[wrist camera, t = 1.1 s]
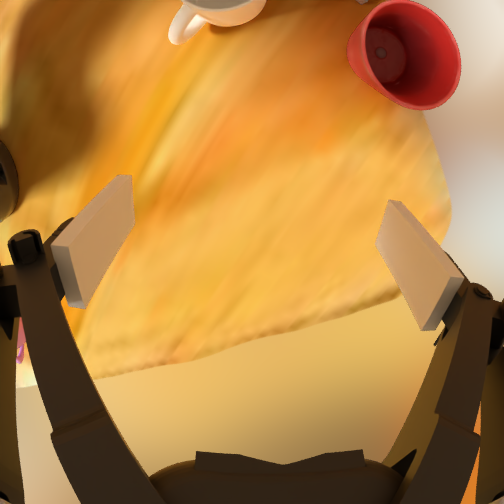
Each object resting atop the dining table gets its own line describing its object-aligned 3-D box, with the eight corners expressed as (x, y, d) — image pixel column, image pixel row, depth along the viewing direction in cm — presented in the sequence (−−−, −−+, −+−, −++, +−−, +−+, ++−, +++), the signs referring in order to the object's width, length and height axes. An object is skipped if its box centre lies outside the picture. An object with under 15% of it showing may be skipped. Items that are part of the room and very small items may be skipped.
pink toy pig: (-5, 323, 55) (-21, 349, 47) (-11, 285, 48) (-32, 312, 40) (33, 345, 58) (18, 374, 50) (31, 309, 51) (11, 340, 43)
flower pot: (399, 6, 25) (442, -5, 17) (426, 88, 30) (472, 100, 22) (319, 21, 27) (343, 7, 19) (352, 107, 32) (383, 122, 24)
